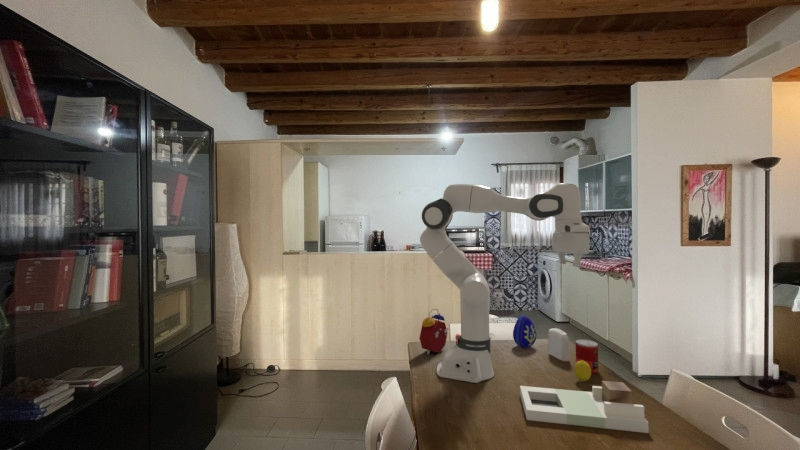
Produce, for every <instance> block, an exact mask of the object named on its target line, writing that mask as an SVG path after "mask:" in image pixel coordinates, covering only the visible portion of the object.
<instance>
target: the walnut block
mask: <svg viewBox="0 0 800 450" xmlns="http://www.w3.org/2000/svg"><path fill="white" fill-rule="evenodd" d="M601 387H602V400H603V402H615V403H626V404H633V391H632V390H631V389H630V388H629V387H628V386H627V385H626V383H624V382H620V381H608V380H601Z"/></svg>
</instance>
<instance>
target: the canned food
mask: <svg viewBox="0 0 800 450" xmlns="http://www.w3.org/2000/svg"><path fill="white" fill-rule="evenodd" d="M581 360H583V361H585V362H586V363H588V364H589V366H590V369H591V374H597V373H598V372H599V344H598V342H596V341H593V340H590V339H577V340H575V364H576V363H577V362H578V361H581Z"/></svg>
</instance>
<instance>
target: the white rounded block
mask: <svg viewBox="0 0 800 450" xmlns="http://www.w3.org/2000/svg"><path fill="white" fill-rule="evenodd" d="M547 345H548V354H549V355H551V356H552V357H553V358H556V359H558V360H559V361H562V362H569V361H570V337H569V335H568V334H567V333H566V332H565V331H563V330H561V328H556V327H555V328H550V329H549V330H548V332H547Z"/></svg>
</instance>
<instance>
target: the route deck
mask: <svg viewBox="0 0 800 450" xmlns="http://www.w3.org/2000/svg"><path fill="white" fill-rule="evenodd" d="M591 388H592V389H591V391H586V390H585V391H584V390H574V389H562V388H560V389H559V388H552V387H551V388H549V387H539V386H528V385H519V396H520V400H521V403H522V407H523V411H524V415H525V417H526V420H527V421H533V422H541V423H542V422H543V423H551V424H559V425H570V426H579V427H587V428H588V427H590V428H598V429H605V430H606V429H607V430H617V431H625V432H634V433H643V434H649V428H650V427H649V421H648V420H647V419H646V418H645V406H644V405H643V404H634V403H632V404H626V403H615V402H603V400H602V386H599V385H592V386H591Z"/></svg>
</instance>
